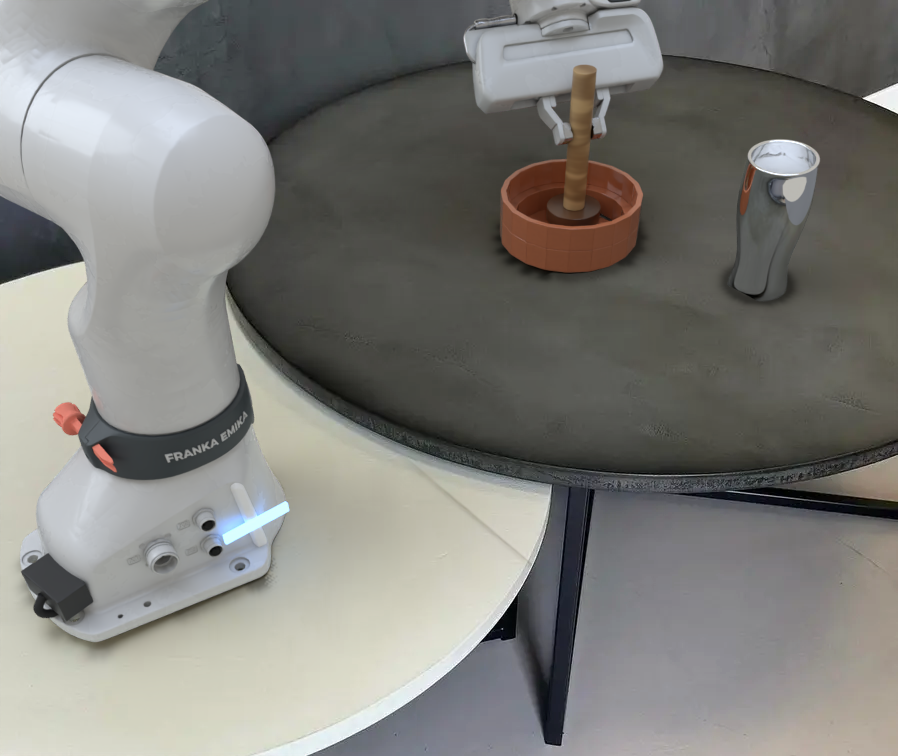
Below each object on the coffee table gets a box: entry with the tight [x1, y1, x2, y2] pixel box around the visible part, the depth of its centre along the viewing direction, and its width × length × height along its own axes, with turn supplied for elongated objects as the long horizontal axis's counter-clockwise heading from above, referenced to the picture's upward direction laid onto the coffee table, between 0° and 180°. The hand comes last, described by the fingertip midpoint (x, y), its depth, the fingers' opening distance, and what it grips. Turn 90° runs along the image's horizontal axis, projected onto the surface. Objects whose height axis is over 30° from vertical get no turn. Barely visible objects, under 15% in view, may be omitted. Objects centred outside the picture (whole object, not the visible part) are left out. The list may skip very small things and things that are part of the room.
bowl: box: [499, 158, 644, 273], centre depth 109 cm, size 15×15×6 cm
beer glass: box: [727, 138, 821, 302], centre depth 98 cm, size 7×7×15 cm
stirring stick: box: [546, 65, 601, 226], centre depth 105 cm, size 6×6×16 cm
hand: (581, 140), depth 104 cm, fingers closed on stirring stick, 2 cm apart
